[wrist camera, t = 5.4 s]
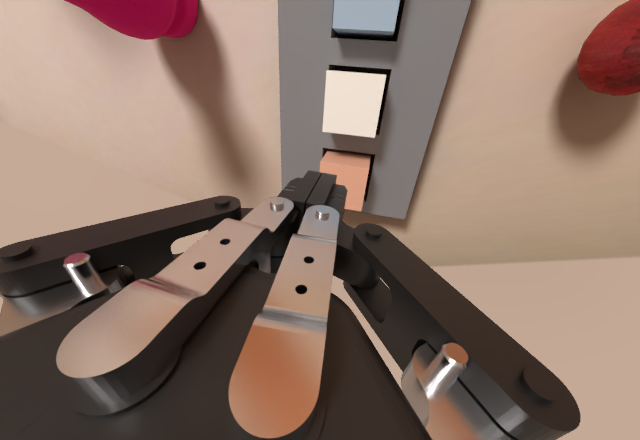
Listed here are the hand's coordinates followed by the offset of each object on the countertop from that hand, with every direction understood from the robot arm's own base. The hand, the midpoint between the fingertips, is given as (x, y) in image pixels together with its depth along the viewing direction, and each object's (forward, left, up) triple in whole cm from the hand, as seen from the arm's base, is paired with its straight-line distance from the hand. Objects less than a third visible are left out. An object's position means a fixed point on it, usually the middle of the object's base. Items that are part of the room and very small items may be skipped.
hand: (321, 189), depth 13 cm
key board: (0, -3, -15) cm, 16 cm away
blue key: (0, -10, -14) cm, 18 cm away
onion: (-18, -8, -15) cm, 25 cm away
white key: (0, -3, -13) cm, 14 cm away
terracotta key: (0, +4, -13) cm, 14 cm away
